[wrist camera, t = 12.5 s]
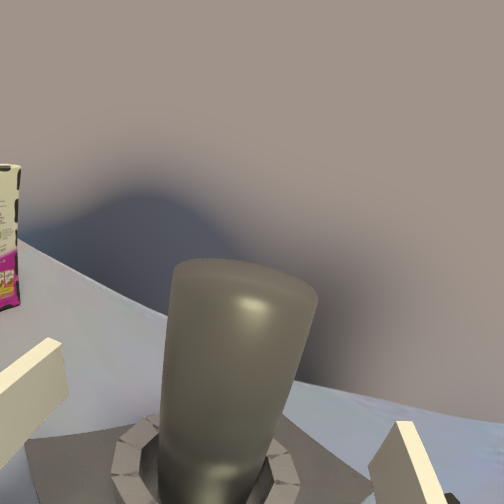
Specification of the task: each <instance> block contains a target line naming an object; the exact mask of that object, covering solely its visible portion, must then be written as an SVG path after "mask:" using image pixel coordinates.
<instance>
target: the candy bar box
mask: <svg viewBox="0 0 504 504" xmlns="http://www.w3.org/2000/svg"><path fill="white" fill-rule="evenodd" d="M20 174H21V166H18V165H13V164H0V311H1V310H4V309H7V308H10V307H13V306H16V305H19V304H20V293H19V277H18V257H17V224H18V199H19V186H20Z"/></svg>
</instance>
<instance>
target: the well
mask: <svg viewBox="0 0 504 504" xmlns="http://www.w3.org/2000/svg"><path fill="white" fill-rule="evenodd" d="M159 424H160V413H159V414H155V415H151V416H147V420H146V419H144V418H143V419H141V420H140V421H139V422H138V423H137V424H132V425H127V426H122V427H117V428H112V429H106V430H100V431H94V432H88V433H81V434H74V435H66V436H58V437H49V438H39V439H28V440H27V441H26V442H25V448H26V453H27V457H28V462H29V466H30V470H31V474H32V477H33V481H34V485H35V488H36V491H37V495H38V498H39V501H40V504H163V502H162V500H161V498H160V496H159V492H158V451H159ZM373 491H374V490H373V486H372V482H371V481H370V480H368V479H367V478H365V477H364V476H363V475H361V474H360V473H358V472H357V471H355V470H354V469H353V468H351V467H350V466H348V465H347V464H346V463H344V462H343V461H342V460H340V459H339V458H337V457H336V456H335V455H333V454H332V453H331V452H329V451H328V450H327V449H325V448H324V447H323V446H322V445H320V444H319V443H318V442H316V441H315V440H314V439H313V438H311V437H310V436H309V435H307V434H306V433H305V432H304V431H302V430H301V429H300V428H299V427H297V426H296V425H295V424H294V423H293V422H291V421H290V420H289V419H288V418H286V417H285V416H284V415H283V414H282V415H281V417H280V420H279V423H278V426H277V428H276V431H275V434H274V436H273V439H272V441H271V444H270V447H269V449H268V452H267V454H266V457H265V459H264V462H263V464H262V467H261V469H260V472H259V474H258V477H257V479H256V482H255V484H254V486H253V489H252V491H251V493H250V496H249V498H248V500H247V503H246V504H361V503H362V502H363V501H364V500H365V499H366V498H367V497H368V496H369V495H370V494H371V493H372V492H373Z"/></svg>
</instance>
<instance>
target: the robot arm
mask: <svg viewBox="0 0 504 504" xmlns="http://www.w3.org/2000/svg"><path fill="white" fill-rule="evenodd" d="M67 396H68V389H67V382H66V375H65V367H64V359H63V349H62V343H60V342H57V341H55V340H53V339H51V338H46V339H45V340H43V341H42V342H41V343H39V344H38V345H37V346H35V347H34V348H33V349H31V350H30V351H29V352H27V353H26V354H25V355H23V356H22V357H21V358H19V359H18V360H17V361H15V362H14V363H13V364H11V365H10V366H9V367H7V368H6V369H5V370H3V371H2V372H1V373H0V470H1V469H2V468H3V467H4V466H5V464H6V463H7V462H8V461H9V460H10V459H11V458H12V456H13V455H14V454H15V453H16V452H17V451H18V450H19V449H20V448H21V446H22V445H23V444H24V443H25V442H26V441H27V440H28V439H29V437H30V436H31V435H32V434H33V433H34V432H35V431H36V430H37V429H38V428H39V426H40V425H41V424H42V423H43V422H44V421H45V420H46V419H47V418H48V417H49V416H50V414H51V413H52V412H53V411H54V410H55V409H56V408H57V407H58V406H59V405H60V404H61V403H62V402H63V400H64V399H65V398H66V397H67ZM368 469H369V473H370V477H371V481H372V486H373V490H374V495H375V499H376V504H460V502H459V501H458V500H457V499H456V497H455V496H454V495H453V494H452V493H446V494H443V491H442V489H441V487H440V484H439V482H438V479H437V477H436V474H435V472H434V470H433V467H432V465H431V463H430V460H429V458H428V456H427V453H426V451H425V449H424V446H423V444H422V442H421V440H420V437H419V435H418V433H417V431H416V429H415V426H414V424H413V422H408V421H396V422H395V424H394V425H393V427H392V429H391V430H390V432H389V434H388V435H387V437H386V439H385V440H384V442H383V444H382V445H381V447H380V448H379V450H378V451H377V453H376V455H375V456H374V458H373V459H372V461H371V462H370V464H369V465H368Z"/></svg>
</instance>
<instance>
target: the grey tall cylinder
mask: <svg viewBox="0 0 504 504" xmlns="http://www.w3.org/2000/svg"><path fill="white" fill-rule="evenodd" d="M317 303H318V296H317V293H316V292H315V291H314V290H313V289H312V288H311V287H310V286H309V285H307V284H306V283H304V282H303V281H301V280H299V279H297V278H296V277H293V276H291V275H289V274H286V273H284V272H281V271H278V270H276V269H273V268H269V267H266V266H262V265H258V264H254V263H249V262H244V261H238V260H230V259H219V258H201V259H192V260H188V261H184V262H182V263H180V264H178V265H177V266H176V267H175V268H174V271H173V279H172V287H171V296H170V303H169V312H168V321H167V330H166V340H165V351H164V362H163V375H162V389H161V405H160V424H159V451H158V492H159V496H160V498H161V500H162V502H163V504H246V503H247V500H248V498H249V496H250V493H251V491H252V489H253V486H254V484H255V482H256V479H257V477H258V474H259V472H260V469H261V467H262V464H263V462H264V459H265V457H266V454H267V452H268V449H269V447H270V444H271V441H272V439H273V436H274V434H275V431H276V428H277V426H278V423H279V420H280V417H281V415H282V412H283V409H284V406H285V403H286V401H287V398H288V395H289V392H290V389H291V386H292V383H293V380H294V377H295V374H296V371H297V368H298V365H299V362H300V359H301V356H302V353H303V350H304V346H305V343H306V340H307V337H308V334H309V330H310V327H311V324H312V320H313V317H314V313H315V310H316V306H317Z"/></svg>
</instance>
